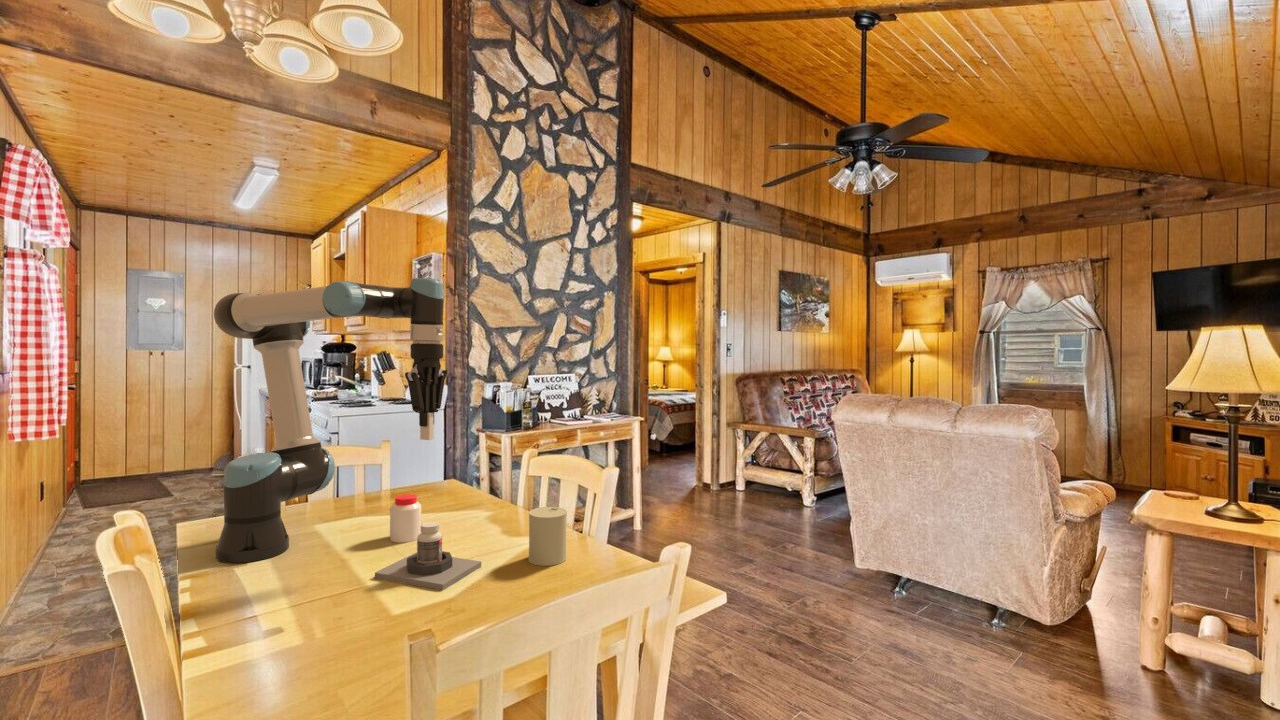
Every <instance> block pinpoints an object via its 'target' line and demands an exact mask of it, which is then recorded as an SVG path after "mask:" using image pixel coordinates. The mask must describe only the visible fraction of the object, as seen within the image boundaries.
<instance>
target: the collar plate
mask: <svg viewBox="0 0 1280 720" xmlns="http://www.w3.org/2000/svg"><path fill="white" fill-rule="evenodd" d="M481 567H482V561H480V560H474V559H468V558H461V557H457V556H456V557H455V556H452V554H451V552H449V551H443V550H442V561H440V562H438V563H432V564H425V565H424V564H418V563H417V551H416V552H414V553H411V554H409V555H408V556H405V557H403V558H402V559H399V560H398V561H395V562H393V563H392V564H389V565H387V566H385V567H383V568H382V569H379V570H377V571H375V572H374V579H379V580H385V581H390V582H394V583H395V582H396V583H401V584H406V585H410V586H411V585H412V586H417V587H418V586H419V587H424V588H427V589H435V590H439V591H444V590H446V589H448V588H449V587H451V586H452V585H454V584H455V583H457V582H459V581H460V580H462V579H464V578H465V577H467V576H468V575H470V574H473V572H475V571H477V570H478V569H480V568H481Z"/></svg>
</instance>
